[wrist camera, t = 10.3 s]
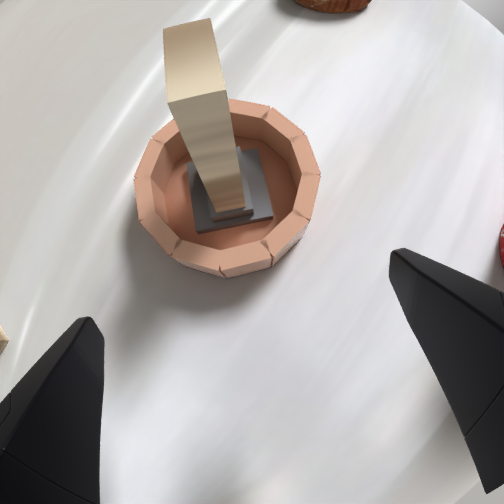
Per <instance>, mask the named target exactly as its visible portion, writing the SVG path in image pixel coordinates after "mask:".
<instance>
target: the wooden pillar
mask: <svg viewBox="0 0 504 504" xmlns="http://www.w3.org/2000/svg"><path fill="white" fill-rule="evenodd" d="M163 42H164V63H165V80H166V94H167V104H168V106H169V108H170V111H171V113H172V115H173V117H174V120H175V122H176V124H177V126H178V129H179V131H180V133H181V135H182V138H183V140H184V142H185V144H186V147H187V149H188V151H189V153H190V156H191V158H192V160H193V161H192V162H188V163H186V166H187V173H188V181H189V188H190V195H191V202H192V209H193V216H194V222H195V229H196V232H197V233H198V234H203V233H208V232H212V231H217V230H222V229H227V228H232V227H237V226H242V225H247V224H251V223H256V222H262V221H267V220H272V219H273V211H272V207H271V203H270V198H269V194H268V190H267V185H266V181H265V177H264V173H263V168H262V164H261V160H260V156H259V152H258V148H255V149H249V150H244V151H241V149H240V146H239V147H236V145H235V139H234V133H233V128H232V122H231V116H230V110H229V104H228V98H227V92H226V87H225V83H224V78H223V73H222V69H221V64H220V60H219V55H218V51H217V46H216V42H215V37H214V33H213V28H212V24H211V19H210V18H208V19H203V20H198V21H194V22H189V23H185V24H181V25H176V26H172V27H169V28H165V29H163Z"/></svg>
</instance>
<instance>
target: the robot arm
mask: <svg viewBox="0 0 504 504" xmlns="http://www.w3.org/2000/svg"><path fill="white" fill-rule="evenodd" d="M389 279H390V282H391V284H392V286H393V289H394V291H395V293H396V295H397V298H398V300H399V302H400V305H401V307H402V309H403V312H404V314H405V316H406V319H407V321H408V323H409V325H410V327H411V329H412V331H413V332H414V334H415V336H416V338H417V340H418V342H419V344H420V345H421V347H422V349H423V351H424V353H425V355H426V357H427V359H428V361H429V363H430V365H431V367H432V369H433V371H434V373H435V375H436V377H437V379H438V381H439V383H440V385H441V387H442V389H443V391H444V393H445V395H446V397H447V400H448V402H449V404H450V406H451V408H452V410H453V413H454V415H455V417H456V419H457V422H458V424H459V426H460V429H461V431H462V433H463V436H464V437H465V441H466V443H467V446H468V448H469V451H470V453H471V456H472V458H473V461H474V463H475V466H476V468H477V471H478V474H479V477H480V479H481V482H482V485H483V487H484V490H485V492H486V494H488V493H490V492H491V491H493V490H495V489H496V488H498V487H500V486H501V485H503V484H504V292H502V291H500V292H499V290H497V289H495V288H493V287H491V286H489V285H487V284H485V283H483V282H481V281H478V280H476V279H474V278H472V277H470V276H468V275H465V274H463V273H461V272H459V271H457V270H454V269H452V268H450V267H448V266H445V265H443V264H441V263H439V262H436V261H434V260H432V259H429V258H427V257H425V256H422V255H420V254H418V253H415V252H413V251H411V250H408V249H406V248H400V249H396V250H393V251H392V252H391V255H390V265H389ZM103 391H104V337H103V335H102V333H101V331H100V330H99V328H98V327H97V325H96V324H95V322H94V320H93V319H92V318H91V317H88V316H87V317H82V318H78V319H77V320H76V321H75V322H74V323H73V324H72V325H71V326H70V327H69V328H68V329H67V330H66V331H65V332H64V333H63V334H62V335H61V336H60V337H59V339H58V340H57V341H56V342H55V343H54V344H53V345H52V346H51V347H50V348H49V349H48V350H47V351H46V352H45V353H44V355H43V356H42V357H41V358H40V359H39V360H38V361H37V362H36V363H35V364H34V365H33V367H32V368H31V369H30V370H29V371H28V372H27V373H26V374H25V375H24V377H23V378H22V379H21V380H20V381H19V382H18V383H17V385H16V386H15V387H14V388H13V389H12V390H11V393H9V394H8V395H7V396H6V397H5V398H4V400H3V401H2V402H1V403H0V504H100V483H99V469H100V434H101V416H102V403H103Z"/></svg>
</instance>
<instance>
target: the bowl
mask: <svg viewBox="0 0 504 504" xmlns="http://www.w3.org/2000/svg"><path fill="white" fill-rule="evenodd" d="M228 104H229V110H230V116H231V122H232V128H233V133H234V139H235V145H236V147H239V146H240V149H241V151H244V150H249V149H255V148H258V152H259V156H260V160H261V164H262V168H263V173H264V177H265V181H266V185H267V190H268V194H269V198H270V203H271V207H272V211H273V219H272V220H267V221H262V222H256V223H251V224H247V225H242V226H237V227H232V228H227V229H222V230H217V231H212V232H208V233H203V234H198V233H197V232H196V229H195V222H194V216H193V209H192V202H191V195H190V188H189V181H188V173H187V166H186V163H188V162H192V161H193V160H192V158H191V156H190V153H189V151H188V149H187V147H186V144H185V142H184V140H183V138H182V135H181V133H180V131H179V129H178V126H177V124H176V122H175V120H174V119H173V120H171V121H170V122H169V123H168V124H167V125H165V126H164V127H163V128H162V129H161V130H159V131H158V132H157V133H156V134H155V135H153V136H152V138H153V139H150V141H149V143H148V145H147V147H146V150H145V152H144V154H143V156H142V159H141V161H140V163H139V166H138V168H137V170H136V173H135V175H134V177H135V179H134V187H135V195H136V203H137V210H138V217H139V220H140V221H141V222H140V223H141V224H142V225H143V226H144V228H145V229H146V230H147V231H148V232H149V233H150V235H151V236H152V237H153V238H154V239H155V240H156V242H157V243H158V244H159V245H160V246H161V247H162V248H163V249H164V251H165V252H166V253H167V254H168V255H169V256H170V257H172V258H173V259H175V260H176V261H178V262H179V263H181V264H183V265H184V266H186V267H189V268H192V269H196V270H199V271H203V272H206V273H210V274H213V275H216V276H220V277H223V278H226V276H227V277H228V278H231V277H235V276H239V275H243V274H247V273H251V272H255V271H259V270H262V269H266V268H270V265H272V266H273V265H274V264H275V263H276V262H277V261H278V260H279V259H280V258H281V257H282V256H283V255H284V254H285V253H286V252H287V251H288V250H289V249H291V248H292V247H293V246H294V245H295V244H296V243H297V242H298V241H299V240H300V239H301V238H302V236H303V235H304V233H305V230H306V228H307V226H308V224H309V222H310V220H311V216H312V212H313V207H314V203H315V199H316V195H317V190H318V186H319V182H320V177H321V176H320V174H321V173H320V170H319V167H318V165H317V162H316V159H315V157H314V154H313V151H312V149H311V146H310V143H309V141H308V138H307V136H306V135H304V133H305V132H303V131H302V130H301V129H300V128H298V127H297V126H296V125H295V124H293V123H292V122H291V121H290V120H288V119H287V118H286V117H284V116H283V115H282V114H281V113H279V112H278V111H277V110H275V109H274V108H273V107H272V108H271V109H270V106H266V105H261V104H256V103H251V102H245V101H240V100H234V99H229V101H228Z"/></svg>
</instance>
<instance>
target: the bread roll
mask: <svg viewBox="0 0 504 504" xmlns="http://www.w3.org/2000/svg"><path fill="white" fill-rule="evenodd" d="M295 1H296V2H297V3H299V4H300V5H302V6H304V7H306V8H309V9H312V10H316V11H320V12H325V13H348V12H356V11H360V10H361V9H362V8H364V7H366V6H367V5H368V4H369V3H370V2H371V0H295Z"/></svg>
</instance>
